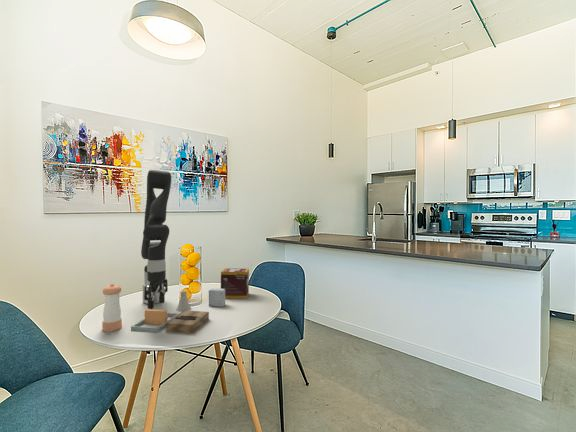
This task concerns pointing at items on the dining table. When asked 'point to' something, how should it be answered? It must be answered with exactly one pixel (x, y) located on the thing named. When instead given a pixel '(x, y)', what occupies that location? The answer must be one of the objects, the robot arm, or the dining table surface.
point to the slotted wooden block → (187, 321)
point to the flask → (183, 302)
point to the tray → (150, 329)
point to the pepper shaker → (112, 309)
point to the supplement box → (235, 283)
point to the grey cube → (217, 297)
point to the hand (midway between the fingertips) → (156, 305)
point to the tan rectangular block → (155, 316)
